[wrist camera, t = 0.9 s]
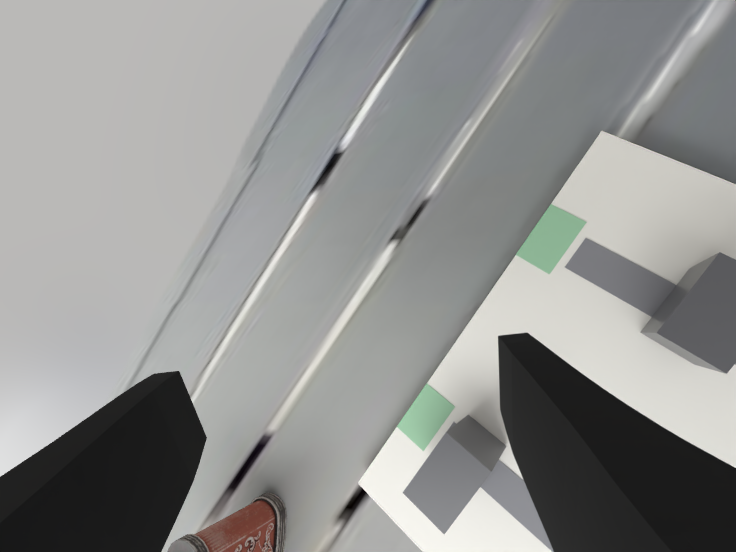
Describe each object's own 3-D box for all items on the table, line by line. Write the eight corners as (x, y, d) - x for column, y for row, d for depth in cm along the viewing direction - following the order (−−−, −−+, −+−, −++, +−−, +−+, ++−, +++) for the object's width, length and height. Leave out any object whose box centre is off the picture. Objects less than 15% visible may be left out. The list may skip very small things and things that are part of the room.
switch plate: (1005, 309, 16) (1046, 307, 14) (615, 728, 19) (618, 759, 18) (600, 142, 23) (601, 130, 21) (368, 475, 26) (357, 483, 25)
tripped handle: (748, 297, 18) (797, 288, 14) (694, 364, 18) (726, 373, 14) (689, 268, 19) (719, 252, 15) (639, 332, 19) (656, 333, 16)
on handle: (506, 445, 21) (491, 471, 18) (467, 498, 22) (444, 534, 18) (468, 414, 22) (446, 432, 19) (431, 465, 23) (402, 492, 19)
